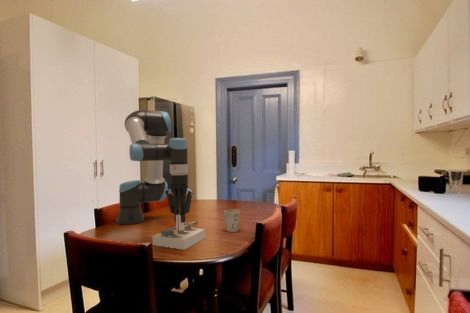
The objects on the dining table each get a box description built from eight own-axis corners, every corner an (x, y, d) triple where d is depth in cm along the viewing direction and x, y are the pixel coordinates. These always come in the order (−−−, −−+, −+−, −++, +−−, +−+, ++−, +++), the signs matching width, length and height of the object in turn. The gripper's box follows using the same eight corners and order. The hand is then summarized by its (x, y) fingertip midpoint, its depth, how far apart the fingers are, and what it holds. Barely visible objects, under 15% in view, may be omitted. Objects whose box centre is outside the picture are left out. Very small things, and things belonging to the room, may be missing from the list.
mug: (228, 233, 144) (228, 213, 144) (218, 227, 155) (218, 208, 155) (243, 231, 148) (243, 211, 148) (232, 225, 159) (232, 207, 159)
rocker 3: (177, 228, 137) (176, 225, 137) (182, 226, 141) (181, 223, 141) (193, 226, 134) (192, 223, 134) (197, 224, 138) (197, 221, 138)
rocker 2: (169, 232, 132) (168, 228, 132) (174, 229, 136) (174, 226, 136) (186, 229, 128) (185, 226, 128) (191, 227, 132) (190, 224, 132)
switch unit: (152, 245, 127) (152, 233, 127) (176, 234, 144) (176, 224, 143) (184, 249, 121) (184, 237, 121) (205, 237, 137) (205, 227, 137)
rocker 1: (160, 234, 126) (160, 231, 126) (166, 232, 130) (166, 229, 130) (178, 233, 123) (177, 230, 123) (183, 231, 127) (183, 228, 127)
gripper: (160, 174, 124) (161, 230, 124) (187, 175, 119) (189, 233, 119) (170, 173, 131) (171, 226, 131) (197, 173, 126) (198, 229, 126)
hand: (180, 229), depth 125 cm, fingers closed
